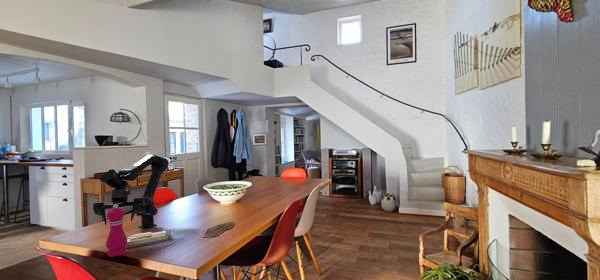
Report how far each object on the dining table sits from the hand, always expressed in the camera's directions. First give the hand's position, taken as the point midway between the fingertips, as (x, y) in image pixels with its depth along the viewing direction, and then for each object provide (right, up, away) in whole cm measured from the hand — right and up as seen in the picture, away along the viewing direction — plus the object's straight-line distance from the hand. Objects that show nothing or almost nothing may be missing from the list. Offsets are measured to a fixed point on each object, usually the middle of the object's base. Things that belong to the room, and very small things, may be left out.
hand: (118, 222), depth 115 cm
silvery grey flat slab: (+8, -11, +7) cm, 15 cm away
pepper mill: (+3, -11, -6) cm, 13 cm away
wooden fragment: (+37, -10, +21) cm, 44 cm away
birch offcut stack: (+8, -10, +7) cm, 14 cm away
